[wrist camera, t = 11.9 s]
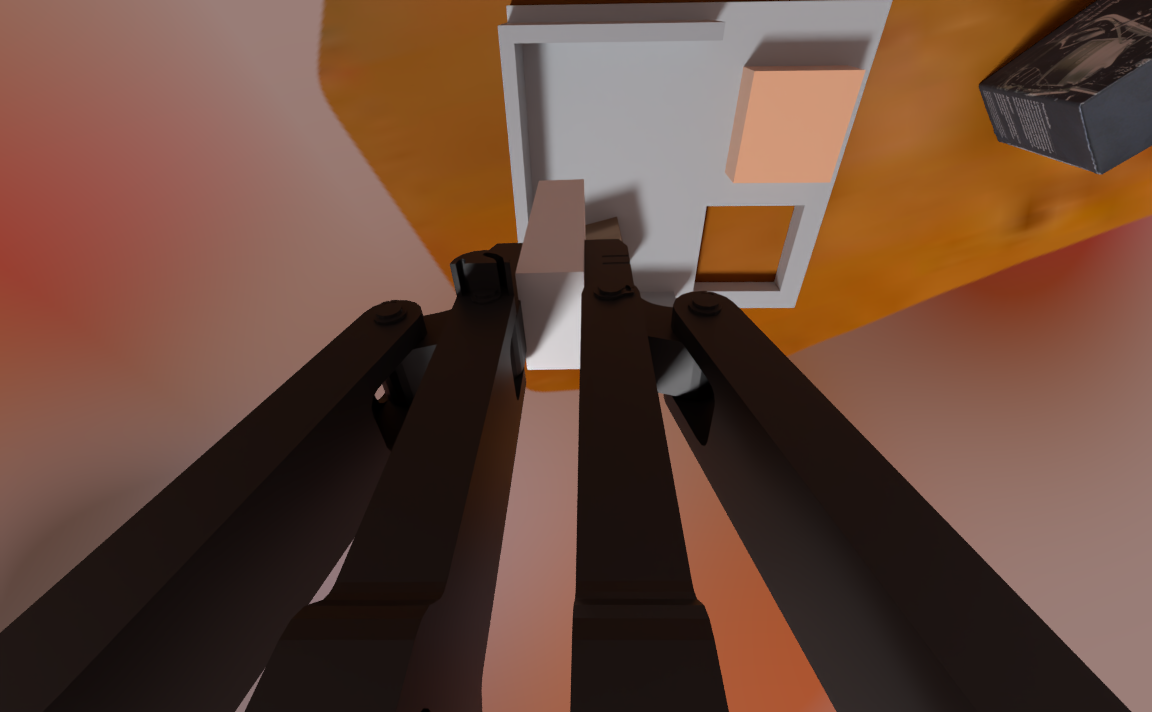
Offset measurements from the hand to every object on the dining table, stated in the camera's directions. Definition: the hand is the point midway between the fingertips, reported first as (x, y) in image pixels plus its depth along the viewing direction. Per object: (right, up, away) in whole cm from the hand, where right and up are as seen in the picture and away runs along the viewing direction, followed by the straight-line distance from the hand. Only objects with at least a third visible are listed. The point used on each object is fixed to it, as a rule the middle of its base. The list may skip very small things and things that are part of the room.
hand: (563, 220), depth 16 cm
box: (+39, +19, +22) cm, 49 cm away
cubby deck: (+10, +12, +27) cm, 31 cm away
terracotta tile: (+18, +15, +23) cm, 32 cm away
